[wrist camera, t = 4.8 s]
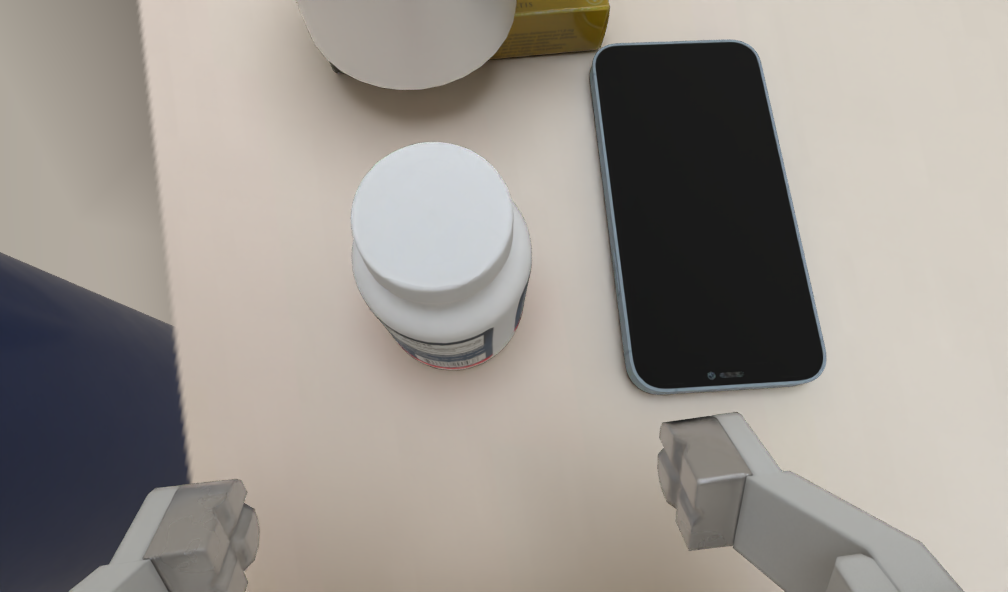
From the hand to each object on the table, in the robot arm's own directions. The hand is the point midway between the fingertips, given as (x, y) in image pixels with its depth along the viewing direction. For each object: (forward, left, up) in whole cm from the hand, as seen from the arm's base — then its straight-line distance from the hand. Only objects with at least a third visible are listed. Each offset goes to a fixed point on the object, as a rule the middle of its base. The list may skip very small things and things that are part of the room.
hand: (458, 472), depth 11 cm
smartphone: (+9, +10, -10) cm, 17 cm away
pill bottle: (-1, +6, -10) cm, 12 cm away
